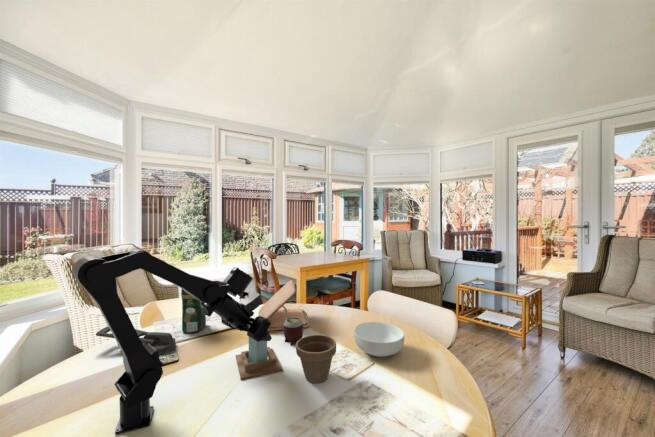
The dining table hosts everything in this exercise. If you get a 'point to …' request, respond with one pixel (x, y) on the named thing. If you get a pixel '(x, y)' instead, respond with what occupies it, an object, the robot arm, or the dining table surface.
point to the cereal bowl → (379, 338)
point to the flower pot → (316, 356)
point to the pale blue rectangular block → (257, 350)
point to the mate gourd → (292, 329)
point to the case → (279, 316)
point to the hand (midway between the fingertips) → (261, 335)
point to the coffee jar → (192, 313)
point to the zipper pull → (148, 339)
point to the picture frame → (257, 365)
